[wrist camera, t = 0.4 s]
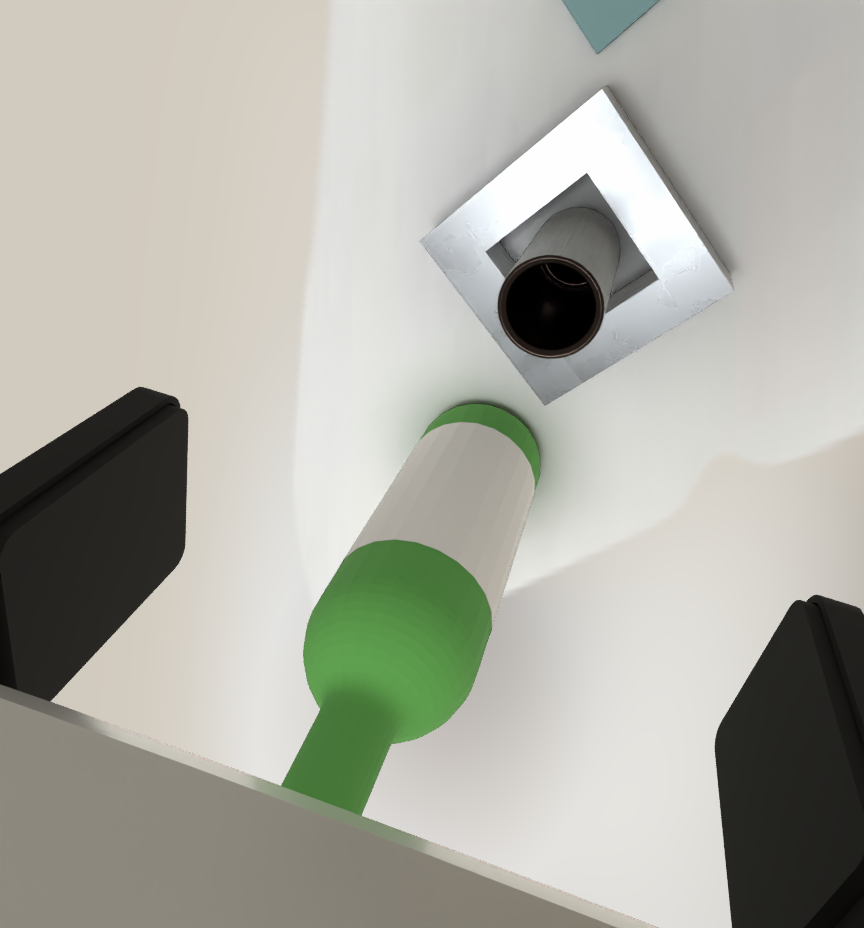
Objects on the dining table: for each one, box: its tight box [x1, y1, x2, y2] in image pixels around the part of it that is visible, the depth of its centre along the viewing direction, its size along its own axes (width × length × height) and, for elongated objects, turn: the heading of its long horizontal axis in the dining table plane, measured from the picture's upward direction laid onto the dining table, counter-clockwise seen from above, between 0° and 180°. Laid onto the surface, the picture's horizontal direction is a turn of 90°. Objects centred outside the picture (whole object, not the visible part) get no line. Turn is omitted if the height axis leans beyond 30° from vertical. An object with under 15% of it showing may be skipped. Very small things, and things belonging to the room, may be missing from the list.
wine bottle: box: [281, 404, 540, 815], centre depth 35 cm, size 8×8×30 cm
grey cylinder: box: [497, 207, 620, 359], centre depth 35 cm, size 4×4×10 cm
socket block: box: [420, 86, 734, 405], centre depth 38 cm, size 11×11×3 cm
